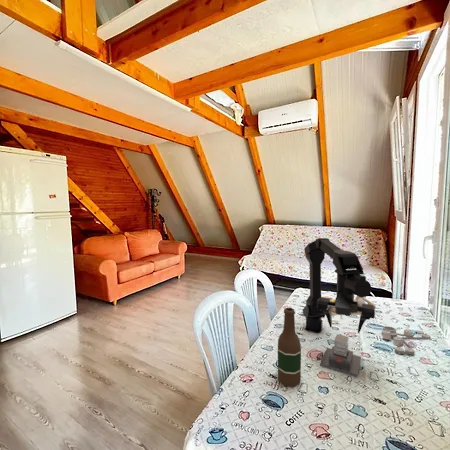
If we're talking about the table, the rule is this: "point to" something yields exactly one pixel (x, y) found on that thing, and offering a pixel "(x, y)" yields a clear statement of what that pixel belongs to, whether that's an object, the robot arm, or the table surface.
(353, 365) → the stand base
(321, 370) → the table surface
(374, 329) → the table surface
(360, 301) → the toy food set
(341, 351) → the grey slab
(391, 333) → the pulley system
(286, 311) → the beer bottle
